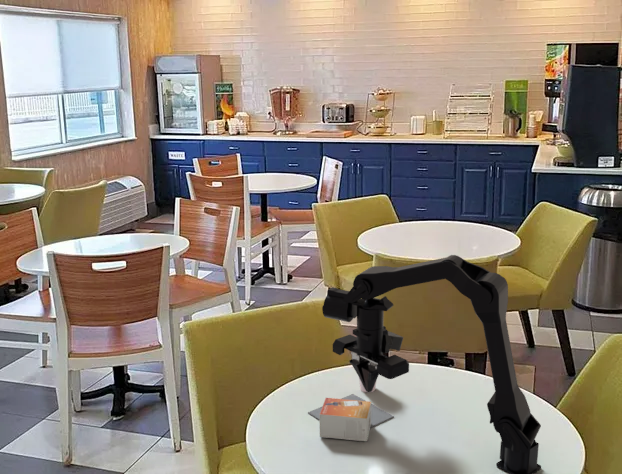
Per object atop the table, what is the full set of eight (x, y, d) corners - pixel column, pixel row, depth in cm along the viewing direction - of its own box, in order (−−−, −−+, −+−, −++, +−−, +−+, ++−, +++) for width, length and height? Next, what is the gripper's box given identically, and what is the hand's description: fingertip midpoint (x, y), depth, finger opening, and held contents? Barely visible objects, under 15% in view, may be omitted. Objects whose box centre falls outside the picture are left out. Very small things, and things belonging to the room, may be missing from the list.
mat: (393, 417, 159) (393, 416, 159) (348, 438, 150) (348, 437, 150) (352, 394, 169) (352, 393, 169) (308, 413, 161) (308, 412, 161)
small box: (367, 418, 147) (319, 414, 149) (367, 442, 148) (319, 437, 150) (371, 400, 154) (325, 396, 156) (371, 423, 156) (325, 418, 158)
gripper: (428, 329, 147) (425, 395, 151) (367, 305, 161) (366, 366, 165) (390, 342, 140) (389, 412, 144) (331, 316, 154) (331, 380, 158)
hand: (369, 391), depth 153 cm, fingers closed
